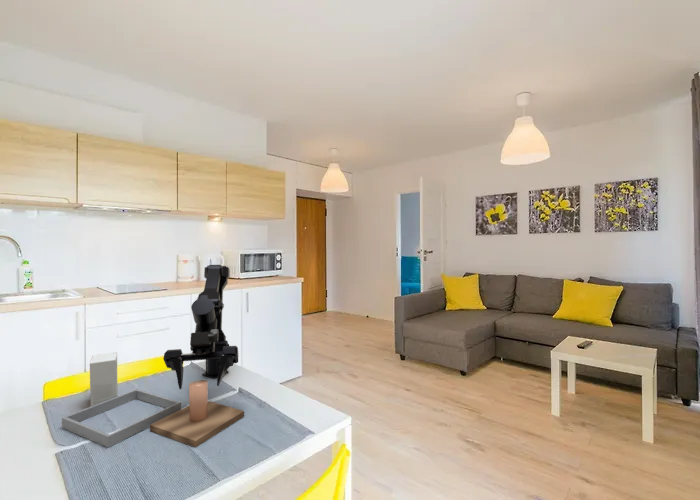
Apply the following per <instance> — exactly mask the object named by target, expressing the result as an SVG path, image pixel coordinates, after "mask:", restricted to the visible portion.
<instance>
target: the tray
mask: <svg viewBox="0 0 700 500" xmlns="http://www.w3.org/2000/svg"><path fill="white" fill-rule="evenodd" d="M134 400H140V401H143V402H146V403H149V404H153V405H154V406H159V407H162V408H163V409H161V410H159V411H157V412H155V413H152V414H150V415H148V416H146V417H144V418H141V419H139V420H137V421H135V422H133V423H132V424H129V425H126V426H125V427H122V428H121V429H118V430H117V431H114V432H111V433H106V432H105V431H101V430H99V429H96V428H94V427H92V426H90V425H86V424H85V423H82V421H84V420H87V419H89V418H92V417H94V416H97V415H100V414H102V413H105V412H107V411H109V410H111V409H114V408H117V407H119V406H122V405H124V404H126V403H130V402H132V401H134ZM181 409H182V402H181V401H179V400H175V399H171V398H169V397H168V398H167V397H165V396H162V395H158V394H155V393H153V392H152V393H151V392H147V391H145V390H141V389H139V388H138V389H137V388H136V389H133V390H131V391H128V392H125V393H123V394H121V395H118V396H117V397H115V398H112V399H110V400H107V401H105V402H102V403H99V404H97V405H94V406H92V407H90V406H89V407H86V408H84V409H81V410H79V411H75V412H73V413H70V414H68V415H66V416H63V417H62V418H61V428H62V429H65V430H66V431H69V432H71V433H74V434H75V435H79V436H81V437H83V438H85V439H88V440H90V441H92V442H95V443H97V444H99V445H101V446H104V447H106V448H111V447H112V446H114V445H116V444H119V443H120V442H122V441H124V440H126V439H128V438H131V437H132V436H134V435H136V434H138V433H140V432H142V431H144V430H146V429H149V428H150V425H151V424H153V423H155V422H157V421H159V420H161V419H163V418H165V417H167V416H169V415H171V414H173V413H175V412H177V411H179V410H181ZM141 430H142V431H141ZM139 431H140V432H139ZM137 432H138V433H137ZM135 433H136V434H135ZM133 434H134V435H133Z"/></svg>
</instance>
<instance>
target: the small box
mask: <svg viewBox="0 0 700 500" xmlns="http://www.w3.org/2000/svg"><path fill="white" fill-rule="evenodd" d="M89 389H90V390H89V391H90V393H89V394H90V398H89V401H90V405H89V407H92V406H94V405H97V404H99V403H102V402H105V401H107V400H110V399H112V398H115V397H118V396H119V393H118V390H119V389H118V352H108V353H102V354H94V355H92V356H91V359H90V361H89Z"/></svg>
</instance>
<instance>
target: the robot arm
mask: <svg viewBox="0 0 700 500" xmlns="http://www.w3.org/2000/svg"><path fill="white" fill-rule="evenodd" d="M230 273H231V272H230V267H229V266H226V265H221V264H209V265H207V266H206V267H204V273H203V274H204V275H203V278H205V284H204V289H203V291H202V292H200V293H198V296H197V298H196V299H195V300H194V301H193V303H192V304H191V312H192V316H193V320H194V323H195V328H194V329H195V330H194V332H191V333H190V342H189V343H190V344H189V345H190V351H191V352H190V353H183V351H182V349H181V348H178V349H175V348H174V349H167V350H166V351H165V352H164V354H163V358H162V359H163V362H164V364H165V367H166V368H167V369H171V371H174V372H175V374H176V378H177V383H178V384H177V385H178V388H179V389H178V390H182V387H183V384H184V381H183V379H184V366H183V365H184V362H192V361H193V362H195V361H205V371H204V372H203V373H201V375H202V376H204V375H205V377H208V376H209V377H208V378H212V377H213V379H217V380H216V386H217V387H218V386H220V385H221V383H222V381H223V378H224V376H225V374H227V373H229V368H231V367H233V366H234V364H237V363H239V348H238V346H237V345H230V344H229V342H228V340H227V336H226V335H225V333H224V330H223V329H222V325H223V309H224V307H225V304H224V301H223V299H224V298H223V297H224V289H225V288H226V286H227V285H228V281H229V279H230Z"/></svg>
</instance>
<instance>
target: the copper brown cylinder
mask: <svg viewBox="0 0 700 500" xmlns="http://www.w3.org/2000/svg"><path fill="white" fill-rule="evenodd" d="M208 385H209V381H208V380H205V379H200V380H199V379H198V380H195V381H191V382H189V386H188V387H189V388H188V392H189V393H188V396H189V397H188V399H189V401H188V402H189V405H188V406H189V420H190V421H192V422H199V421H202V420H205V419H206V418H207V417H208V401H209V399H208V397H209V396H208V393H209V392H208V389H209V388H208Z"/></svg>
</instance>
